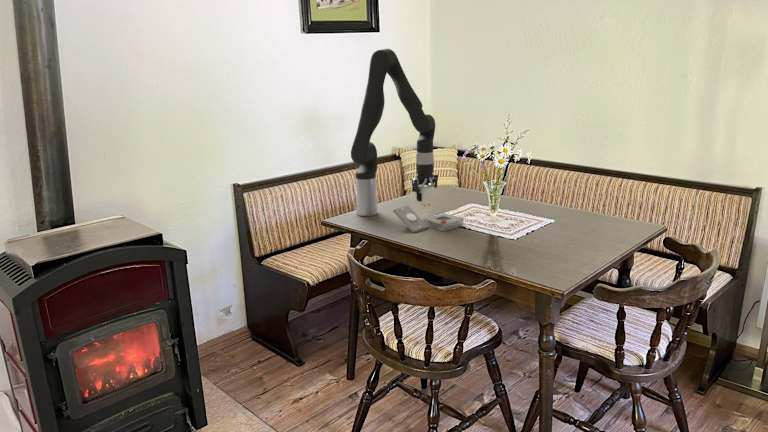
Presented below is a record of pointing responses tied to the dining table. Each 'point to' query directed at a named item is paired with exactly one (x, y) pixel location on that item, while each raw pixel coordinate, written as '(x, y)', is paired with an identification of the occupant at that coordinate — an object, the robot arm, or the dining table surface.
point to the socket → (443, 222)
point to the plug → (426, 195)
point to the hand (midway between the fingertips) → (424, 199)
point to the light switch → (410, 219)
